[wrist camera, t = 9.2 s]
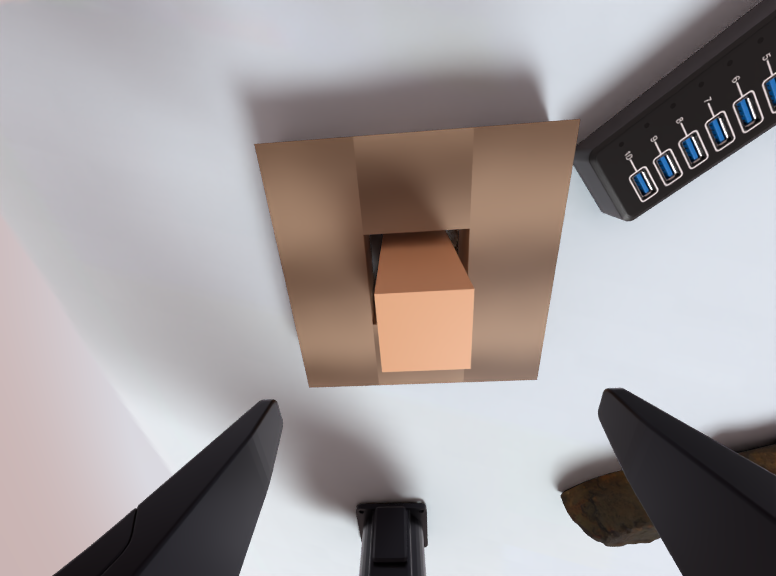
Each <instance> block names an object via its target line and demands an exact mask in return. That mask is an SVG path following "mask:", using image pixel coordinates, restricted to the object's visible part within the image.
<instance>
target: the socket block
mask: <svg viewBox="0 0 776 576" xmlns="http://www.w3.org/2000/svg"><path fill="white" fill-rule="evenodd" d="M579 124H580V119H574V120H561V121H548V122H535V123H522V124H509V125H496V126H483V127H470V128H457V129H444V130H431V131H418V132H405V133H392V134H379V135H366V136H353V137H340V138H327V139H314V140H301V141H288V142H275V143H262V144H254V145H255V150H256V154H257V158H258V163H259V167H260V172H261V176H262V181H263V185H264V189H265V194H266V198H267V203H268V207H269V212H270V216H271V220H272V225H273V229H274V234H275V238H276V242H277V247H278V251H279V256H280V260H281V265H282V269H283V273H284V278H285V282H286V287H287V291H288V295H289V300H290V304H291V309H292V313H293V318H294V322H295V326H296V331H297V335H298V340H299V344H300V348H301V353H302V357H303V362H304V366H305V371H306V375H307V379H308V384H309V388H310V387H339V386H368V385H397V384H426V383H455V382H484V381H513V380H537V376H538V370H539V364H540V358H541V352H542V346H543V340H544V334H545V328H546V322H547V316H548V310H549V304H550V298H551V292H552V286H553V280H554V274H555V268H556V262H557V256H558V250H559V244H560V238H561V232H562V226H563V220H564V214H565V208H566V202H567V196H568V190H569V184H570V178H571V172H572V166H573V160H574V154H575V148H576V142H577V136H578V130H579ZM454 229H459V238H458V257H459V259H460V261H461V263H462V265H463V267H464V269H465V271H466V273H467V275H468V277H469V279H470V281H471V283H472V285H473V287H474V289H475V290H474V310H473V330H472V351H471V369H455V370H429V371H403V372H382V366H381V356H380V346H379V336H378V326H377V316H376V307H375V297H374V293H375V285H374V275H373V264H372V254H371V244H370V234H387V233H404V232H420V231H437V230H454Z"/></svg>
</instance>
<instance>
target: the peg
mask: <svg viewBox="0 0 776 576" xmlns="http://www.w3.org/2000/svg"><path fill="white" fill-rule="evenodd" d="M474 290H475V289H474V287H473V285H472V283H471V281H470V279H469V277H468V275H467V273H466V271H465V269H464V267H463V265H462V263H461V261H460V259H459V257H458V255H457V253H456V251H455V249H454V247H453V245H452V243H451V241H450V239H449V237H448V235H447V233H446V231H445V230H437V231H420V232H404V233H387V234H383V239H382V245H381V252H380V259H379V266H378V272H377V279H376V286H375V293H374V297H375V307H376V316H377V326H378V336H379V346H380V356H381V366H382V372H403V371H429V370H455V369H471V351H472V330H473V310H474Z"/></svg>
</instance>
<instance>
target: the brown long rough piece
mask: <svg viewBox="0 0 776 576" xmlns="http://www.w3.org/2000/svg"><path fill="white" fill-rule="evenodd" d="M738 454H739V455H741V456H743V457H745V458H746V459H748V460H750V461H752V462H754V463H755V464H757V465H759V466H761V467H762V468H764V469H766V470H768V471H769V472H771V473H773V474H775V475H776V444H773V445H769V446H764V447H761V448H756V449H752V450H748V451H744V452H740V453H738ZM561 499H562V501H563V504H564V506H565V508H566V510H567V513H568V514H569V515H570V517H571V518H572V520H573V521H574V522H575V523H577V524H578V525H579V527H581V529H582V530H583V531H584V532H585V533H586V534H587V535H588V536H590V537H591V538H592V539H594V540H596V541H597V542H601V543H603V544H604V545H605V546H610V547H619V546H624V545H626V544H638V543H650V542H652V541H654V540H657V539H659V538H661V537H660V535H659V534H658V532H657V530H656V529H655V527H654V525H653V523H652V522H651V520H650V518H649V516H648V515H647V513H646V511H645V510H644V508H643V506H642V504H641V503H640V501H639V499H638V497H637V496H636V494H635V492H634V491H633V489H632V487H631V485H630V483H629V482H628V480H627V478H626V476H625V474H624V472H623V470H621V471H617V472H613V473H610V474H606V475H603V476H600V477H597V478H594V479H591V480H589V481H586V482H584V483H581V484H579V485H577V486H575V487H573V488H571V489H569V490H567V491H565V492H563V493H562V494H561Z"/></svg>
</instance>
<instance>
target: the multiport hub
mask: <svg viewBox="0 0 776 576" xmlns="http://www.w3.org/2000/svg"><path fill="white" fill-rule="evenodd" d="M775 125H776V0H763V1H762V2H760V3H759V4H758V5H756V6H755V7H754V8H753V9H751V10H750V11H749V12H748V13H746V14H745V15H744V16H742V17H741V18H740V19H739V20H737V21H736V22H735V23H733V24H732V25H731V26H730V27H728V28H727V29H726V30H724V31H723V32H722V33H721V34H719V35H718V36H717V37H715V38H714V39H713V40H712V41H710V42H709V43H708V44H706V45H705V46H704V47H703V48H701V49H700V50H699V51H697V52H696V53H695V54H694V55H692V56H691V57H690V58H688V59H687V60H686V61H685V62H683V63H682V64H681V65H679V66H678V67H677V68H676V69H674V70H673V71H672V72H670V73H669V74H668V75H667V76H665V77H664V78H663V79H661V80H660V81H659V82H658V83H656V84H655V85H654V86H652V87H651V88H650V89H649V90H647V91H646V92H645V93H643V94H642V95H641V96H640V97H638V98H637V99H636V100H634V101H633V102H632V103H631V104H629V105H628V106H627V107H625V108H624V109H623V110H622V111H620V112H619V113H618V114H616V115H615V116H614V117H613V118H611V119H610V120H609V121H607V122H606V123H605V124H604V125H602V126H601V127H600V128H598V129H597V130H596V131H595V132H593V133H592V134H591V135H589V136H588V137H587V138H586V139H584V140H583V141H582V142H580V143H579V144H578V145H577V146H576V148H575V154H574V160H573V165H574V167H575V168H576V170H577V172H578V173H579V175H580V177H581V178H582V180H583V182H584V183H585V185H586V187H587V188H588V190H589V192H590V193H591V195H592V197H593V198H594V200H595V202H596V203H597V205H598V207H599V208H600V210H601V211H602V212H603V213H605V214H608V215H611V216H613V217H616V218H619V219H621V220H624V221H632V220H634V219H636V218H637V217H639V216H640V215H642V214H643V213H645V212H646V211H648V210H649V209H651V208H652V207H654V206H655V205H657V204H658V203H660V202H661V201H663V200H664V199H666V198H667V197H669V196H670V195H672V194H673V193H675V192H676V191H678V190H679V189H681V188H682V187H684V186H685V185H687V184H688V183H690V182H691V181H693V180H694V179H696V178H697V177H699V176H700V175H702V174H703V173H705V172H706V171H708V170H709V169H711V168H712V167H714V166H715V165H717V164H718V163H720V162H721V161H723V160H724V159H726V158H727V157H729V156H730V155H732V154H733V153H735V152H736V151H738V150H739V149H741V148H742V147H744V146H745V145H747V144H748V143H750V142H751V141H753V140H754V139H756V138H757V137H759V136H760V135H762V134H763V133H765V132H766V131H768V130H769V129H771V128H772V127H774V126H775Z"/></svg>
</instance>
